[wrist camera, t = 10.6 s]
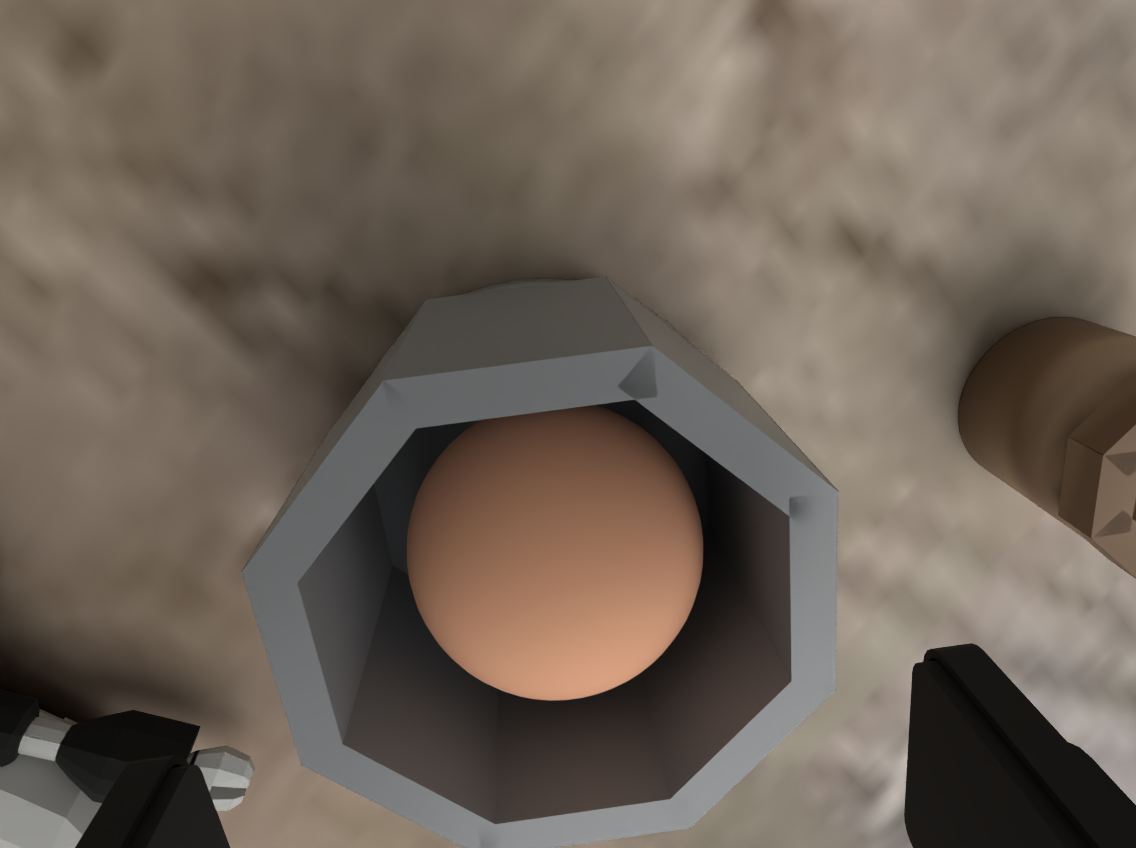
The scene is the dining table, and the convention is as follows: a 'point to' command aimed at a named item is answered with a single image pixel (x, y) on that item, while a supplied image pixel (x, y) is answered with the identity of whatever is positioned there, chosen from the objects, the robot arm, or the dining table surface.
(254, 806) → the dining table surface
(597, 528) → the ball
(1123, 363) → the stand
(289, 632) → the grey octagonal pot
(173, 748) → the robot toy
